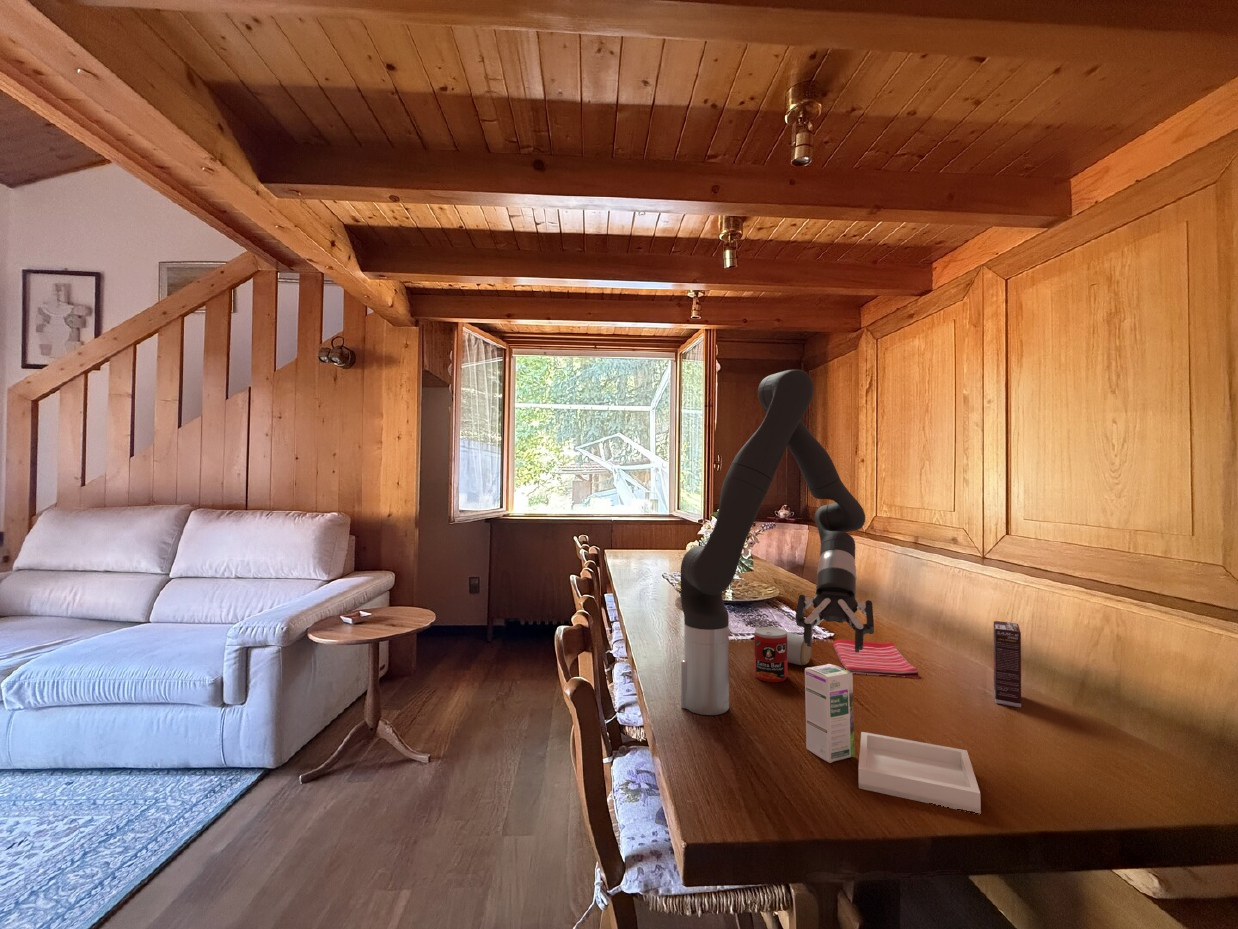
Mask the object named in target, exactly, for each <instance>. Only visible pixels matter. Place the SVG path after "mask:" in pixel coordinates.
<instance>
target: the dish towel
mask: <svg viewBox="0 0 1238 929" xmlns="http://www.w3.org/2000/svg"><path fill="white" fill-rule="evenodd" d="M832 646H833V649H834V652H835V653H836V655H837V657H838V659H839V661H840V664H841V663H842V664H841V665H842V666H843V667H842V668H843V669H846V670H848V671H850V672H851V673H852V675H853V674H854V675H864V676H865V675H866V674H867V675H866V676H879V675H896V676H905V677H920V674H919V670H918V668H916V667H915V666H913V665H912V664H911V663H910V662H909V661H908V660H907V659H906V658H905V657H904V656H903V654H902V653H901V652H900V651H899V650H898V648H897V647H896V644H895V643H893V641H891V642H873V641H865V640H863V649H862V650H859V653H856V652H855V640H852V639H851V640H850V639H837V640H834V641H833V642H832ZM855 673H856V674H855ZM905 677H904V678H905Z"/></svg>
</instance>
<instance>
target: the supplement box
mask: <svg viewBox="0 0 1238 929" xmlns="http://www.w3.org/2000/svg"><path fill="white" fill-rule="evenodd" d="M993 693H994V703H995V704H998V705H1004V706H1009V707H1013V708H1019V709H1020V708H1022V632H1021V629H1020V626H1019V624H1018V623H1015V622H1008V621H1007V622H1006V621H998V620H994V621H993Z"/></svg>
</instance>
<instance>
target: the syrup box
mask: <svg viewBox="0 0 1238 929" xmlns="http://www.w3.org/2000/svg"><path fill="white" fill-rule="evenodd" d="M853 676H854V675H853V674H852V673H851V672H850V671H848V670H845V668H844V667H840V666H838V665H835V664H830V663H827V664H822V665H817V666H811V667H805V668H804V687H805V688H804V692H805V695H804V697H805V698H804V699H805V731H806V733H805V735H806V736H805V739H806V740H805V742H806V743H805V745H806V746H805V747H806V750H808V751H809V752H811V753H813V754H814V755H816V756H817V757H819V758H820V759H821V760H824V761H825V762H827V763H829V764H831V763H833V762H837V761H842V760H845V759H849V758H853V757H855V755H856V754H855V729H854V728H855V722H854V721H855V720H854V685H853V684H854V678H853Z"/></svg>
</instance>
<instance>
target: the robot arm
mask: <svg viewBox="0 0 1238 929" xmlns="http://www.w3.org/2000/svg"><path fill="white" fill-rule="evenodd" d="M813 396H814V382H813V380H812V377H811V376H810V375H809V374H808V373H807V372H806V371H804V370H801V369H788V370H784V371H780V372H777V373H773V374H770V375H768V376H766V377H764V378H763V379H762V380H761V381H760V383H759V386H758V388H757V397H758V400H759V404H760V405H761V407H762V409H763V411H764V412H765V413H766V414H765V416H764V418H763V421H762V422H761V424H760V425H759V427H758V428H757V430H755V432H754V433H753V434H752V435H751V436H750V437H749V439H748V440H747V441H746V442H745V443H744V445H743V446H742V447H741V448H740V450H739V451H738V452H737V453H736V454H735V456H734V458H733V460H732V462H731V464H730V466H729V468H728V470H727V473H726V476H725V477H724V480H723V483H722V485H721V490H720V494H719V495H720V496H719V504H718V511H717V512H718V513H717V517H716V521H715V525H714V527H713V530H712V531H711V533H710V535H709V538H708V540H707V542H706V543H705V545H704V546H703V545H699V546H694V547H692V548H690V549H688V550H687V552H686V553H685V554H684V556H683V557H682V559H681V564H680V596H681V597H680V601H681V608H682V613H683V616H684V617H683V619H684V620H683V621H684V623H683V624H684V628H683V630H684V636H683V637H684V638H683V640H684V641H683V642H684V649H683V650H684V659H683V660H681V661H680V662H681V664H680V665H681V666H680V676H681V677H680V680H681V682H680V683H681V684H680V685H681V686H680V687H681V689H680V690H681V691H680V693H681V696H680V698H681V699H680V702H681V703H680V704H681V705H680V708H683V709H686V710H688V711H690V712H691V713H694V714H698V715H704V716H717V715H722V714H724V713H726V712H727V711H729V708H730V677H729V676H730V674H729V673H730V672H729V671H730V664H729V663H730V661H729V660H730V658H729V657H730V654H729V653H730V652H729V650H730V644H729V643H730V640H729V639H730V638H729V636H730V635H729V634H730V632H729V631H730V630H729V628H730V627H729V625H730V624H729V622H730V620H729V618H730V617H729V611H728V609H727V607H726V605H725V603H724V599H723V592H725V591H726V590H727V589H728V588H729V586H730V585H731V583H732V582H733V579H734V578H735V575H736V573H737V568H738V565H739V562H740V559H741V556H742V554H743V549H744V546H745V543H746V541H747V537H748V536H749V533H750V532H751V530H752V527H753V525H754V522H755V520H756V518H757V516H758V513H759V511H760V509H761V507H762V504H763V502H764V500H765V498H766V496H767V494H768V492H769V489H770V487H771V485H772V482H773V480H774V479H775V478H774V477H775V475H776V471H777V470H778V468H779V465H780V463H781V461H782V459H783V456H784V454H785V452H786V450H787V448H788V449H789V451H790V453H791V454H792V456H793V458H794V460H795V462H796V463H797V466H798V468H799V470H800V472H801V474H802V476H803V479H804V481H805V484H806V486H807V487H808V490H809V492H810V495H811V496H812V497H813V498H815V499H817V500H831V501H833V503H829V504H825V505H822V506H819V507H818V509H817V510H816V511H815V514H814V522H815V524H816V528H817V532H818V535H819V541H820V551H819V552H820V553H819V560H818V563H817V564H818V565H817V572H816V573H817V574H816V576H817V577H816V584H815V586H816V587H815V596H814V597H813V598H811V597H810V598H809V597H806V596H805V595H804V594H799V595H798V599H797V600H798V601H797V606H796V611H795V622H796V626H798V627H803V628H804V629H803V635H802V636H803V638H804V642H805V643H807V646H808V647H811V645H813V644H812V642H813V633H814V632H813V628H815V626H817V625H819V624H820V623H822V622H823V621H824V620H825V622H829V623H833V622H835V623H838V624H839V623H840V624H843V623H845V622H846V623H847V625H848V626H849V627H850V628H851V629H853V631H854V641H855V652H856V653H859V650H862V649H863V641H864V636H865V635H867V634H869V635H873V634H874V633H875V622H874V608H873V607H874V606H873V602H872V601H871V600H869V599H868V600H866V601H865V602H857V599H856V588H857V586H856V585H857V569H856V568H857V567H856V541H855V539H854V537H853V536H852V535H850V534H849V532H854V531H855V532H856V531H859V530H861V529H862V528H863V527H864V525H865V523H866V513H865V511H864V509H863V507H862V505H861V504H860V503H859V501H858V500H857V499H856V498H855V496H854V495H852V494H851V491H849V490H848V488H847V487H846V486H845V485H844V483H843V481H842V480H841V477H840V476H839V473H838V470H837V468H836V466H835V465H834V462H833V460H832V457H831V456H830V454H829V453H828V452H827V451H826V449H825V448H824V446H822V444H821V443H820V442H819V441H818V440H817V439H816V437H815V436H813V434H812V433H811V432H810V430H809V429H808V428H807V426H806V425H805V424H804V422H803V420H802V418H803V416H804V415H805V413H806V411H807V410H808V408H809V406H810V405H811V402H812V400H813ZM811 606H813V608H814V609H813V610H812V611H811V613H810V614H809V615H808V616H807V617H805V613H806V610H808V609H809V608H810V607H811ZM858 610H860V611H861V613H862V614H863V615H864V616H865V617H866V623H862V622H861V621H860V620H859V619H858V617H857V615H856V614H855V613H856V612H858Z"/></svg>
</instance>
